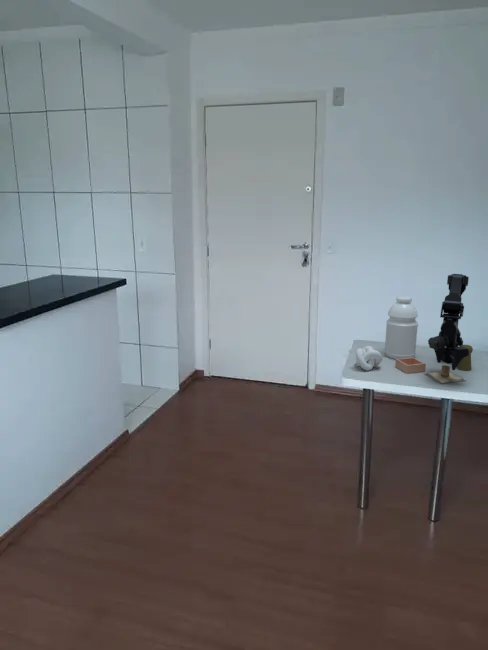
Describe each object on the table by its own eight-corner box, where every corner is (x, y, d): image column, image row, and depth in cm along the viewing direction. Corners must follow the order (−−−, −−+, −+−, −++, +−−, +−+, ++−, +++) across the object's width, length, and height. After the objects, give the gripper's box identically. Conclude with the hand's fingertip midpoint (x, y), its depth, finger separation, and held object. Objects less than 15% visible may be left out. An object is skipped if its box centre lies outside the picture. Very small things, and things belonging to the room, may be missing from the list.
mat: (447, 372, 223) (447, 371, 223) (466, 382, 212) (466, 381, 212) (423, 375, 220) (423, 374, 220) (441, 385, 209) (441, 384, 209)
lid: (447, 372, 222) (448, 361, 221) (463, 380, 213) (464, 369, 211) (427, 374, 219) (428, 363, 218) (442, 383, 210) (443, 371, 209)
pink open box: (412, 365, 231) (413, 357, 230) (425, 372, 223) (425, 363, 222) (395, 367, 229) (395, 359, 228) (406, 374, 221) (407, 365, 220)
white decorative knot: (370, 374, 221) (372, 354, 219) (346, 368, 229) (347, 348, 227) (384, 368, 229) (385, 348, 226) (360, 362, 237) (361, 343, 234)
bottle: (378, 353, 248) (381, 296, 241) (399, 349, 255) (404, 293, 247) (399, 362, 236) (404, 301, 229) (421, 357, 243) (426, 298, 235)
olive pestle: (464, 372, 223) (467, 348, 220) (453, 368, 228) (455, 344, 225) (474, 370, 225) (477, 346, 223) (463, 366, 231) (465, 342, 228)
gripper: (418, 325, 217) (415, 361, 221) (447, 337, 200) (443, 376, 204) (441, 323, 220) (438, 358, 224) (472, 335, 203) (467, 373, 207)
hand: (446, 366), depth 215 cm, fingers open, 9 cm apart
